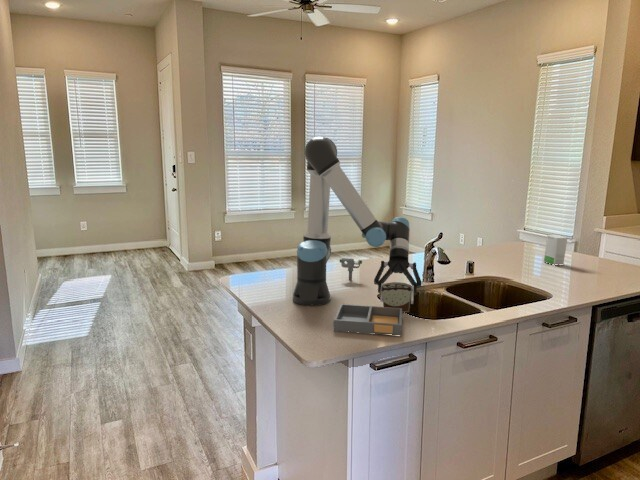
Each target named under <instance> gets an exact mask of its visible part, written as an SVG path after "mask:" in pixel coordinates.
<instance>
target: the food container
mask: <svg viewBox="0 0 640 480" xmlns="http://www.w3.org/2000/svg"><path fill="white" fill-rule="evenodd" d="M381 290H382V298H383V301H382V307H391V308H402V313H409V312H410V308H411V292H412V291H413V288H412V285H411V284H408V283H404V282H386V283H383V285H382V287H381V289H380V292H381Z"/></svg>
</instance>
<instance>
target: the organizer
mask: <svg viewBox="0 0 640 480" xmlns="http://www.w3.org/2000/svg"><path fill="white" fill-rule="evenodd" d="M402 320H403V312H402V308H391V307H383V306H378V305H377V306H376V305H362V304H361V305H360V304H351V303H350V304H347V303H340V304H339V307H338V309H337V312H336V314H335V316H334V319H333V332H338V331H345V332H344V333H350V332H359V333H358V334H362V333H375V334H392V335H401V336H402V327H403V326H402V325H403V324H402V323H403V321H402ZM346 331H347V332H346ZM348 331H349V332H348Z"/></svg>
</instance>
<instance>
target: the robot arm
mask: <svg viewBox="0 0 640 480" xmlns="http://www.w3.org/2000/svg"><path fill="white" fill-rule="evenodd" d="M304 147H305V148H304V157H305V159H306V171H307V172H308V173H309V177H310V178H309V191H308V192H309V194H308V208H307V209H308V210H307V211H308V213H307V214H308V215H307V229H306V230H307V231H305V233H304V234H303V240H302V242H300V243H299V244H298V246H297V250H296V256H297V259H296V262H297V263H296V267H297V268H296V269H297V270H296V272H297V275H296V276H297V277H296V283H295V287H294V291H293V293H292V301H293V302H294V303H296V304H298V305H301V306H311V307H312V306H321V305H326V304H328V303H330V301H331V294H330V293H331V292H330V290H329V287H328V283H327V263H328V260H329V259H330V257H331V254H332V247H331V237H332V236H331V234H329V232H328V230H329V229H328V228H329V214H330V213H329V212H330V197H331V190H332V192H333V193H334V194H335V196H336V197H337V198H338V200H339V202H340V203H341V205H342V206H343V207H344V208H345V210H346V211H347V213H348V215H349V216H350V217H351V219H352V220H353V222H355V224H356V226H357V227H358V229H359V230H360V232H361V237H362V238H364V239H365V240H366V243H367V244H368V245H369V246H371V247H373V248H378V247H381V246H383V245H384V243H385V242H386V241H390V242H389V256H388V257H389V258H388V261H385V260H381V261H380V266H379V268H378V271H377V273H376V275H375V277H374V279H373V283H374V285H377V288H378V289H377V292H378V294H380V296H379V297H380V298H379V299H380V301H379V302H380V303H383V298H382V290H381V292H380V289H381V287H382V285H383V284H385V282H386V281H387V280H388V279H389V278H390V276H391V275H393V274H403V275H404V276H405V277H406V279H407V280H408V282H409V283H410V285H411V286H412V288H413V291H412V292H411V300H410V305H414V296H416V295H417V294H418V293H417V292H418V288H421V287H422V285H423V282H422V279H421V277H420V275H419V272H418V270H417V269H418V268H417V263H416V261H415V262H413V263H410V262H409V253H410V252H409V251H410V247H409V246H410V222H409V220H408V219H407V218H406V217H402V216H398V217H394V218H393V219H392V220H391V222H390V221H378V219H377V218H376V217H375V215H374V214H373V213H372V211H371V209H370V208H369V206H368V205H367V204H366V202H365V201H364V199H363V198H362V197H361V194H360V193H359V192H358V191H357V189H356V188H355V186H354V185H353V183H352V182H351V180H350V179H349V177H348V176H347V174H346V173H345V172H344V170H343V169H342V166H341V160H339V158H338V149H337V146H336V144H335V142H334V141H333V140H332V139H330V138H328V137H323V136H315V137H313V138H311V139H310V140H308V142H306V144H305V146H304ZM386 267H388V269H387V271H386V272H385V273H384V275H383V276H382V274H383V272H384V270H385V269H386ZM409 268H410V269H411V270H412V273H413V275H414V277H413V276H412V275H411V273H410V271H409V270H408V269H409ZM381 276H382V277H381Z"/></svg>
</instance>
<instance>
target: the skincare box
mask: <svg viewBox="0 0 640 480" xmlns="http://www.w3.org/2000/svg"><path fill="white" fill-rule="evenodd" d="M567 243H568V237H565V236H562V235H559V234H547V235H546V242H545V249H544V255H543V256H544V257H543V263H544V262H547V263H550V264H554V265H555V264H563V265H564V263H565V255H566V250H567ZM547 263H546V264H547ZM550 264H549V265H550Z"/></svg>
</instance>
